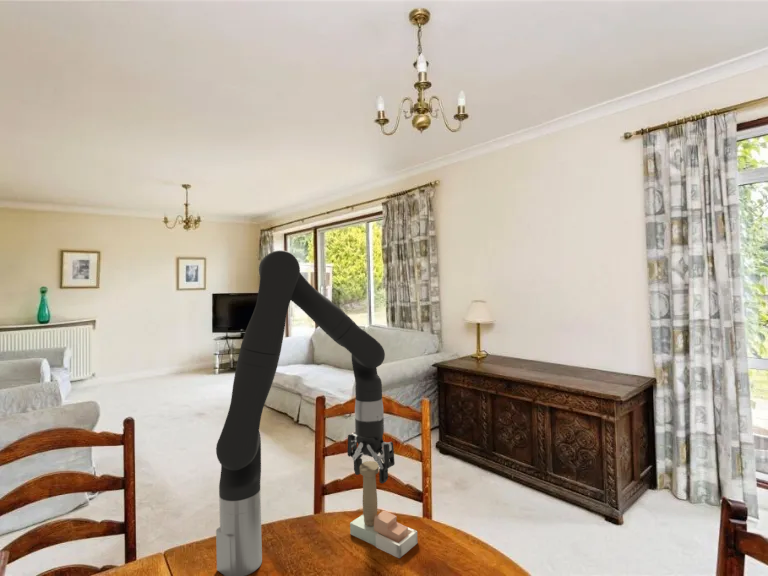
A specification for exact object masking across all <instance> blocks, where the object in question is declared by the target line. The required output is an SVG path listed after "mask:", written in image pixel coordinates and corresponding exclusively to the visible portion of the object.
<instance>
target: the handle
mask: <svg viewBox="0 0 768 576" xmlns="http://www.w3.org/2000/svg"><path fill="white" fill-rule="evenodd" d="M379 469H380V467H379V465H378V463H377V462H376V461H375V460H372V461H371V460H370V461H364V462H362V464H361V465H360V474H359V475H361V476H362V482H363V483H362V515H364V523H365V524H366V526H373V525H374V521H375V516H377V515H378V491H377V478H376V476H377V474H379Z"/></svg>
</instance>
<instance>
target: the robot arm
mask: <svg viewBox="0 0 768 576" xmlns="http://www.w3.org/2000/svg"><path fill="white" fill-rule="evenodd" d="M300 268H301V267H300V263H299V261H298V259H297V257H296V256H295V255H293V254H292V253H291V252H289V251H287V250H274V251H271V252H270V253H268V254H267V255H266V256H264V257H262V260H261V261H260V262H259V266H258V275H259V277H260V278H259V285H258V292H257V298H256V303H255V307H254V309H253V313H252V315H251V317H250V318H249V322H248V324H247V327H246V329H245V332H244V334H243V339H242V341H241V344H240V348H239V353H238V356H237V361H236V367H235V371H234V372H235V373H234V376H233V377H234V379H233V383H232V384H233V385H232V391H231V392H232V393H231V399H230V404H229V409H228V412H227V416H226V417H225V418H226V419H225V422H224V424H223V427H222V430H221V433H220V435H219V438H218V440H217V443H216V448H215V452H216V458H217V460H218V463H219V464H220V465H221V466H220V467H221V468H220V477H219V483H218V484H219V485H218V494H219V496H218V497H219V499H218V501H219V527H217V528H216V530H215V534H216V535H215V537H216V538H215V540H216V543H215V545H216V546H215V547H216V548H215V549H216V571H218V572H219V573H220V574H222V575H223V576H249V575H250V574H253V573H254V572H255V571H257V570H258V569H259V568H260V567H261V565H262V562H263V551H262V550H263V547H262V545H263V544H262V500H261V498H262V497H261V496H262V495H261V491H262V490H261V475H262V445H261V444H262V442H261V441H262V439H261V438H262V437H261V433H260V425H261V419H262V414H263V409H264V407H265V404H266V401H267V399H268V396H269V393H270V391H271V387H272V385H273V383H274V380H275V375H276V372H277V370H278V369H277V368H278V365H279V360H280V355H281V351H282V346H283V341H284V335H285V330H286V322H287V321H286V320H287V314H288V309H289V307H290V304H291V302H293V303H294V304H295V305H296V306H298V308H299V309H300V310H301V311H303V312H304V313H305V314H306V315H307V316H308V317H309V318H310V319H311V321H313V322H314V323H315V324H316V326H318V327H319V328H320V329H321V330H322V331H323V332H324V333H326V335H327V336H328V337H330V338H331V339H332V340H333V342H335V343H336V344H338V345H339V346H341V347H343V348H344V349H345V350H346V351H348V352H349V353H350V354H351V365H352V370H353V371H352V372H353V376H354V379H355V380H354V381H355V390H354V391H355V404H354V426H355V427H354V430H355V432H352V433H350V434H347V456H348V457H351V458H352V460H353V471H354V475H356V476H358V475H361V474H360V465H361V464H362V463H363V459H362V457H363V455H364V456H369V457H370V458H372V459H373V461H374V462H377V463H378V465H379V471H378V474H379V475H378V478H379V480H378V481H379V484H384V483H386V482H387V481H388V479H389V469H390V468H391V467H393V466H395V450H394V448H395V447H394V443H393V441H389V442H386V441H384V439H383V436H384V433H385V423H384V422H385V418H384V413H385V412H384V403H383V384H382V379H381V378H380V375H379V374H378V371H377V369H378V367H380V366H381V365H382V364H383V363H384V361H385V358H386V354H385V349H384V347H383V345H382V344H381V343H380V342H379V341H377V339H376V338H374V337H373V336H372V335H370V334H369V333H368V332H366V331H365V330H364V329H362V328H361V327H360V326H359V325H358V324H357V323H356V322H355V321H354V320H353V319H352V318H351V317H350V316H349V315H348V314H347V313H345V312H344V311H343V310H342V309H341V308H340V307H339V306H338V305H336V303H334V302H332V300H330V299H329V298H327V297H326V296H325V295H323V294H322V293H321V292H319V291H318V290H317V289H316V288H315V287H314V286H313V285H311V283H310V282H308V280H307V279H306V278H305V277H304V276H303V274H302V273H301V269H300Z"/></svg>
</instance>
